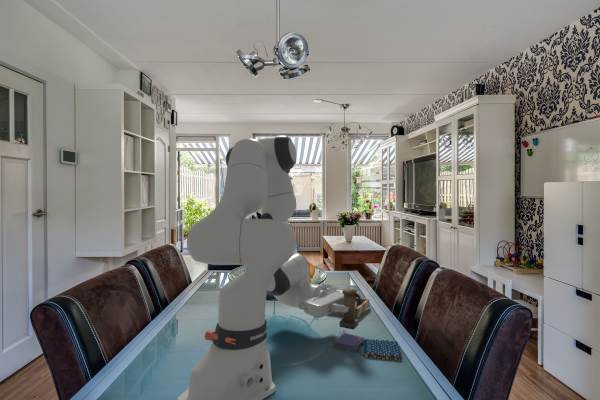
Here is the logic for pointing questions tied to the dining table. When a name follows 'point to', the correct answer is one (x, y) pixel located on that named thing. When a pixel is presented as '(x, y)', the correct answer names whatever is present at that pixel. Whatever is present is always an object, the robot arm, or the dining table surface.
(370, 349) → the woven mat
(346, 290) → the stamp
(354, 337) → the pad
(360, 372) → the dining table surface
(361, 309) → the wooden tray
